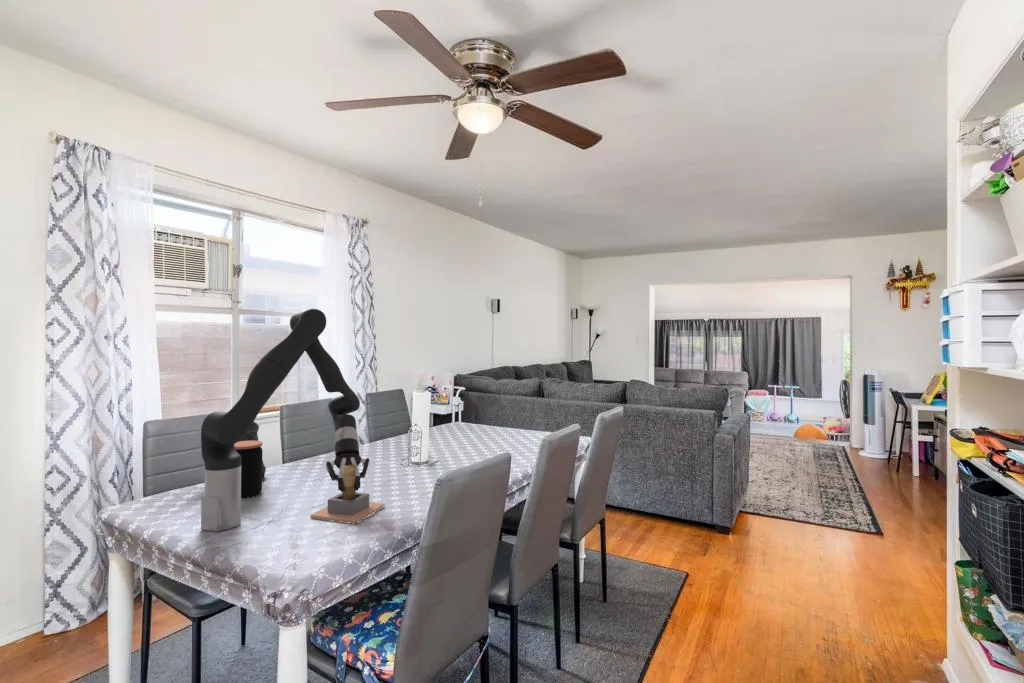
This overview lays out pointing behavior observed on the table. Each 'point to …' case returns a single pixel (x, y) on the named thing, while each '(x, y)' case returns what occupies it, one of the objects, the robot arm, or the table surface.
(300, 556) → the table surface
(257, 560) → the table surface
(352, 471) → the tan dome-topped cylinder
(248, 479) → the coffee jar
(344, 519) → the holder
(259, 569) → the table surface
